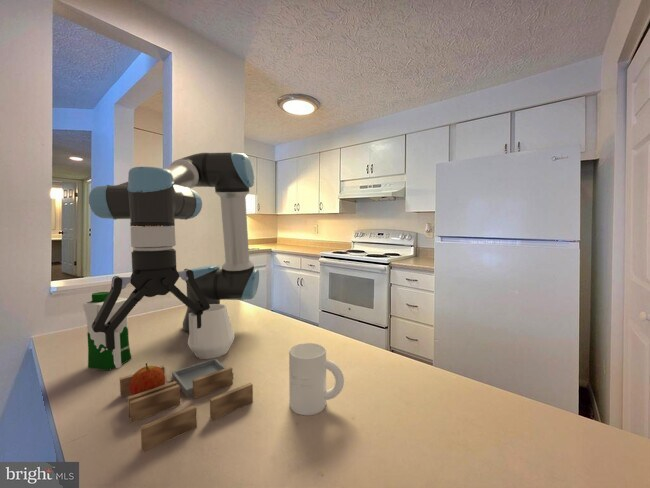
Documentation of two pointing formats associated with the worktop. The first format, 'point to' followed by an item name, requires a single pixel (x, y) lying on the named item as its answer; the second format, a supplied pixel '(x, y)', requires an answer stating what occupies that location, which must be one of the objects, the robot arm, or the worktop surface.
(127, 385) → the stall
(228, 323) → the cup
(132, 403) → the stall
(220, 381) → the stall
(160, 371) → the fruit
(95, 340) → the milk carton
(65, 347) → the worktop surface
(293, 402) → the mug
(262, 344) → the worktop surface
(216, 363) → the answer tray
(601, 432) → the worktop surface
